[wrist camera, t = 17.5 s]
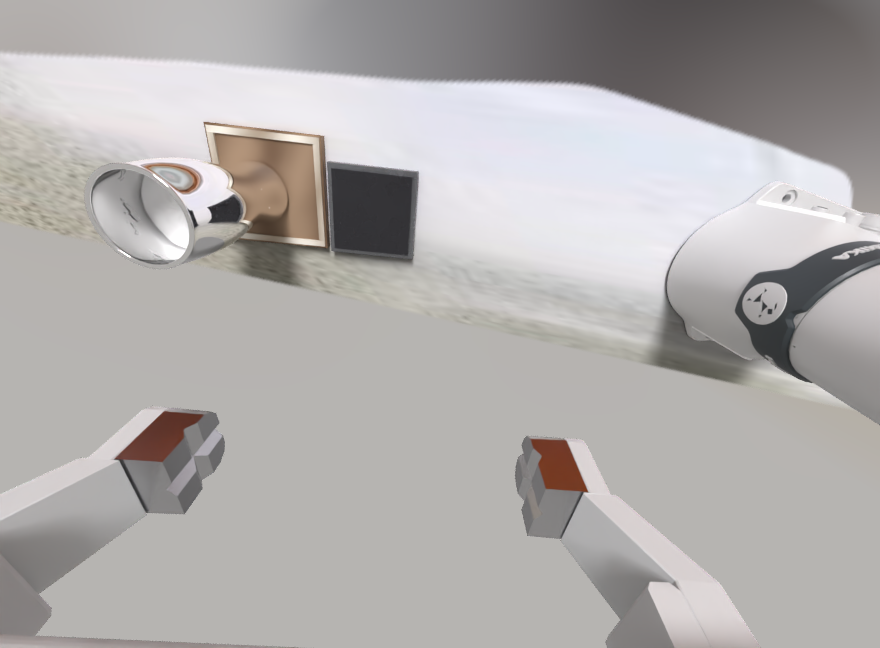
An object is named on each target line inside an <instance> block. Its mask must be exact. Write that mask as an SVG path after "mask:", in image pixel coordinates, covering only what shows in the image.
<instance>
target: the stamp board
mask: <svg viewBox="0 0 880 648" xmlns="http://www.w3.org/2000/svg"><path fill="white" fill-rule="evenodd" d="M204 126H205V132H206V137H207V142H208V147H209V152H210V157H211V162H212V163H215V164H220V165H224V166H232V165H234V164H237V163H239V162H242V161H248V160H252V161H258V162H261V163H263V164H265V165H267V166H269V167H270V168H271V169H273V170H274V171H275V172H276V173H277V174H278V175H279V177H280V178H281V180H282V181H283V183H284V185H285V188H286V191H287V195H288V204H287V208H286V211H285V213H284V214H283V216H282V217H281V218H280V219H278V220H277V221H275V222H273V223H269V224H256V225H254V226H253V227H252V228H251V229H250V230H248V231H247V232H246V233H245V234H244V235H243V236H242V237H241V238H239V239H242V240H252V241H262V242H272V243H281V244H291V245H301V246H311V247H320V248H328V247H329V246H330V244H329V225H328V206H327V187H326V168H325V149H324V136H320V135H312V134H303V133H295V132H286V131H278V130H269V129H261V128H252V127H244V126H235V125H227V124H219V123H210V122H204Z"/></svg>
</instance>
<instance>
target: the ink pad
mask: <svg viewBox="0 0 880 648" xmlns="http://www.w3.org/2000/svg"><path fill="white" fill-rule="evenodd" d="M327 169H328V189H329V209H330V229H331V249H332V251H337V252H347V253H356V254H366V255H376V256H386V257H396V258H405V259H412V258H413V247H414V233H415V218H416V203H417V188H418V173H419V171H410V170H402V169H393V168H384V167H375V166H367V165H358V164H349V163H341V162H332V161H329V162H327Z"/></svg>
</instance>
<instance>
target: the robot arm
mask: <svg viewBox="0 0 880 648" xmlns="http://www.w3.org/2000/svg"><path fill="white" fill-rule="evenodd" d="M784 196H785V197H784ZM783 197H784V199H783V200H782V198H783ZM667 293H668V298H669V301H670V303H671V305H672V307H673V308H674V310H675V311H676V312H677V313H678V314H679V315H680V316H681V317H682V318H683V320H684V322H685V328H686V332H687V334H688V336H689V337H691V338H692V339H694V340H696V341H708V340H713V341H715V342H717V343H718V344H720V345H722V346H723V347H725V348H727V349H728V350H730V351H732V352H733V353H735V354H737V355H739V356H740V357H742V358H744V359H747V360H753V359H767V360H768V361H769V362H771V364H772V365H774V366H775V367H777V368H778V369H780V370H782V371H783V372H786V373H788V374H790V375H792V376H794V377H796V378H798V379H800V380H802V381H805V382H810V383H814V384H816V385H818V386H819V387H821V388H822V389H824V390H825V391H827V392H828V393H830V394H832V395H833V396H835V397H836V398H838V399H839V400H841V401H843V402H844V403H846V404H847V405H849V406H850V407H852V408H853V409H855V410H857V411H858V412H860V413H861V414H863V415H864V416H866V417H868V418H869V419H871V420H872V421H874V422H875V423H877V424H879V425H880V215H878V214H872V213H866V212H864V213H861V212H859V211H856V210H854V209H851V208H849V207H846V206H844V205H841V204H839V203H836V202H833V201H831V200H828V199H826V198H823V197H821V196H818V195H816V194H813V193H810V192H808V191H805V190H803V189H800V188H798V187H795V186H793V185H790V184H787V183H783V182H779V181H775V182H771V183H769V184H767V185H766V186H764V187H763V188H762V189H760V190H759V191H758V192H757V193H755V194H754V195H753V196H752V197H751V198H749V199H748V200H747V201H746V202H745V203H743V204H741V205H739V206H737V207H735V208H733V209H731V210H729V211H726V212H724V213H722V214H720V215H718V216H717V217H715V218H713V219H712V220H710V221H709V222H707V223H706V224H704V225H703V226H702V227H701V228H699V229H698V230H697V231H696V232H695V233H694V234H693V235H692V236H691V237H690V238H689V239H688V240H687V241H686V243H685V244H684V245H683V246H682V248H681V249H680V251H679V252H678V254H677V255H676V257H675V259H674V261H673V263H672V266H671V268H670V271H669V275H668V280H667ZM218 424H219V420H218V417H217V415H216V413H213V412H209V411H199V410H189V409H180V408H166V407H156V406H151V407H148V408H145V409H143V410H142V411H141V412H140V413H138V415H136V416H135V417H134V418H133V419H132V420H130V421H129V422H128V423H127V424H126V425H125V426H124V427H123V428H121V429H120V430H119V431H118V432H117V433H116V434H115V435H113V436H112V437H111V438H110V439H109V440H108V441H107V442H106V443H104V444H103V445H102V446H101V447H100V448H99V449H97V450H96V451H95V452H94V453H93V454H92V455H91V456H89V457H88V458H79V459H77V460H74V461H73V462H70V463H68V464H66V465H63V466H62V467H59V468H57V469H55V470H52V471H51V472H48V473H46V474H44V475H41V476H39V477H37V478H35V479H33V480H30V481H28V482H26V483H24V484H22V485H19V486H17V487H15V488H13V489H11V490H8V491H7V492H4V493H2V494H0V648H296V647H274V646H252V645H231V644H230V645H229V644H209V643H187V642H165V641H164V642H163V641H142V640H120V639H98V638H76V637H53V636H35V635H36V634H37V633H38V631H39V630H40V629H41V628H42V626H43V625H44V624H45V623H46V621H47V620H48V619H49V618H50V617H51V609H52V608H51V607H50V606H49V605H48V604H47V603H46V602H45V601H44V600H43V598H42V597H41V596H40V595H39V593H41V592H42V591H44V590H45V589H46V588H47V587H49V586H50V585H52V584H53V583H54V582H56V581H57V580H58V579H60V578H61V577H63V576H64V575H65V574H67V573H68V572H69V571H71V570H72V569H74V568H75V567H76V566H78V565H79V564H80V563H82V562H83V561H85V560H86V559H87V558H89V557H90V556H91V555H93V554H94V553H96V552H97V551H98V550H100V549H101V548H102V547H104V546H105V545H106V544H108V543H109V542H111V541H112V540H113V539H114V538H116V537H117V536H119V535H120V534H121V533H123V532H124V531H126V530H127V529H128V528H130V527H131V526H132V525H134V524H135V523H137V522H138V521H139V520H141V519H142V518H143V517H145V516H146V515H147V514H146V513H164V514H165V513H166V514H185V513H186V511H187V510H188V509H189V507H190V506H191V504H192V503H193V501H194V500H195V499H196V497H197V496H198V494H199V493H200V491H201V490H202V480H203V479H204V478H206V477H207V476H209V475H211V474H212V473H214V471H215V470H216V468H217V466H218V465H219V464H220V462H221V459H222V456H223V453H224V447H225V441H224V438H223V435H222V434H221V433H219V432H218V431H217V430H216V429H215V428H216V426H217V425H218ZM522 449H523V454H522V455H520V456H519V457H518V460H517V464H516V471H515V479H516V487H517V491H518V494H519V495H520V496H521V497H522V499H523V500H524V504H523V507H522V514H523V518H524V523H525V527H526V531H527V536H536V537H546V538H557V539H561V542H562V543H563V545H564V546H565V547H566V548H567V550H568V551H569V553H570V554H571V555H572V556H573V558H574V559H575V560H576V562H577V563H578V564H579V566H580V567H581V568H582V570H583V571H584V572H585V573H586V574H587V576H588V577H589V579H590V580H591V581H592V583H593V584H594V585H595V587H596V588H597V589H598V591H599V592H600V593H601V595H602V596H603V597H604V598H605V600H606V601H607V603H608V604H609V605H610V606H611V608H612V609H613V610H614V612H615V613H616V614H617V615H618V617H619V618H620V621H619V623H618V624H617V625H616V626H615V628H614V629H613V631H612V632H611V633H610V634H609V636H608V638H607V640H606V645H607V648H761V647H760V646H759V644H758V643H757V641H756V639H755V638H754V636H753V635H752V633H751V631H750V630H749V628H748V627H747V625H746V624H745V622H744V621H743V619H742V617H741V616H740V614H739V613H738V611H737V610H736V608H735V606H734V605H733V603H732V602H731V600H730V599H729V597H728V595H727V594H726V592H725V591H724V589H723V588H722V586H721V584H720V583H718V582H717V581H716V580H715V579H714V578H713V577H712V576H710V575H709V574H708V573H707V572H706V571H705V570H703V569H702V568H701V567H700V566H699V565H698V564H696V563H695V562H694V561H693V560H692V559H691V558H689V557H688V556H687V555H686V554H685V553H684V552H682V551H681V550H680V549H679V548H678V547H677V546H675V545H674V544H673V543H672V542H671V541H670V540H668V539H667V538H666V537H665V536H664V535H662V533H660V532H659V531H658V530H657V529H656V528H655V527H653V526H652V525H651V524H650V523H649V522H648V521H646V520H645V519H644V518H643V517H642V516H641V515H639V514H638V513H637V512H636V511H635V510H634V509H632V508H631V507H630V506H629V505H628V504H627V503H625V502H624V501H623V500H622V499H621V498H620V497H619V496H617V495H611V493H610V491H609V489H608V487H607V485H606V483H605V481H604V479H603V477H602V475H601V473H600V471H599V469H598V467H597V465H596V463H595V461H594V459H593V457H592V455H591V453H590V451H589V449H588V447H587V445H586V443H585V442H584V441H583V440H582V439H566V438H563V439H562V438H552V437H538V436H526V437H525V438H524V440H523V443H522Z"/></svg>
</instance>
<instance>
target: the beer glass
mask: <svg viewBox="0 0 880 648" xmlns="http://www.w3.org/2000/svg"><path fill="white" fill-rule="evenodd" d="M84 201H85V207H86V210H87V213H88V216H89V218H90V221H91V223H92V224H93V226H94V228H95V229H96V231H97V232H98V234H99V235H100V236H101V238H102V239H103V240H104V241H105V242H106V243H107V244H108V245H109V246H110V247H111V248H112V249H113V250H114V251H116V252H117V253H118V254H120V255H121V256H123V257H124V258H126V259H128V260H130V261H131V262H133V263H136V264H138V265H141V266H144V267H147V268H152V269H169V268H173V267H176V266H178V265H181V264H184V263H187V262H191V261H194V260H197V259H201V258H204V257H206V256H209V255H211V254H214V253H216V252H218V251H220V250H222V249H224V248H226V247H228V246H230V245H231V244H233V243H234V242H235V241H237V240H238V239H239V238H241V237H242V236H243V235H244V234H245V233H246V232H247V231H248V230H250V229H251V228H252V227H253V226H254V225H256V224H269V223H273V222H275V221H277V220H278V219H280V218H281V217H282V216H283V214H284V213H285V211H286V208H287V204H288V195H287V191H286V188H285V185H284V183H283V181H282V180H281V178H280V177H279V175H278V174H277V173H276V172H275V171H274V170H273V169H271V168H270V167H269V166H267V165H265V164H263V163H261V162H258V161H252V160H248V161H242V162H239V163H237V164H234V165H232V166H224V165H220V164H215V163H211V162H207V161H202V160H196V159H189V158H169V157H166V158H152V159H143V160H136V161H130V162H124V163H110V164H106V165H103V166H101V167H99V168H97V169H96V170H95V171H94V172H93V173H92V174H91V175H90V176H89V178H88V180H87V182H86V185H85V190H84Z"/></svg>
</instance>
